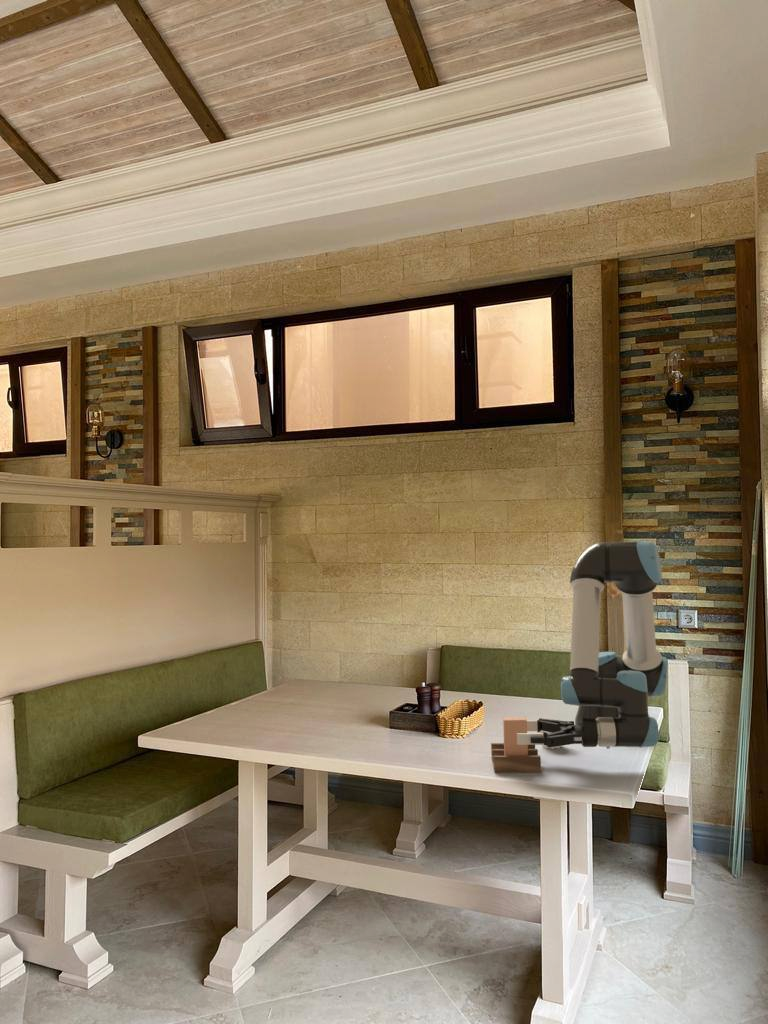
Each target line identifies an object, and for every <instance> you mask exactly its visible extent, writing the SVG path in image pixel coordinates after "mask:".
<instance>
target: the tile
mask: <svg viewBox="0 0 768 1024" xmlns="http://www.w3.org/2000/svg"><path fill="white" fill-rule="evenodd" d="M527 721H528V720H527V717H525V716H524V717H521V716H520V717H502V724H503V725H502V727H503V743H504V756H528V745H517V733H528V731H527Z"/></svg>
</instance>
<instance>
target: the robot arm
mask: <svg viewBox="0 0 768 1024" xmlns="http://www.w3.org/2000/svg"><path fill="white" fill-rule="evenodd" d="M662 579H663V571H662V565H661V557H660V552H659V549H658V547H657V545H656V544H655V543H654V542H653V541H641V540H638V541H620V542H619V541H615V542H614V541H613V542H611V541H610V542H606V541H602V542H597V543H594V544H592V545H590V546H589V547H587V548H586V549H585V550H584V551H582V553H581V554H580V555H579V556H578V557H577V559H576V561H575V563H574V565H573V567H572V569H571V573H570V578H569V588H570V589H571V590H572V591H573V594H572V611H571V612H572V616H571V639H570V661H569V663H570V664H569V665H570V666H569V675H567V676H563V677H562V678H561V682H560V695H561V696H560V697H561V700H562V703H564V704H565V705H568V706H569V705H571V706H578V709H577V712H576V715H575V719H574V721H573V720H571V721H570V720H560V719H558V720H557V719H551V718H549V719H548V718H542V717H541V718H540V717H539V718H538V719H537V720H527V733H517V745H535V746H536V745H537V746H542V745H543V743H544V745H546V746H547V747H549V748H550V747H556V746H561V747H562V746H569V745H580V744H581V745H582V746H583V748H596V747H597V746H598V747H600V748H601V747H603V748H604V747H605V748H606V749H607V750H610V748H612V747H617V748H619V747H625V748H626V747H627V748H644V747H645V748H646V747H647V748H648V747H655V746H657V745H658V743H659V738H660V731H659V723H658V722H657V720H656V719H657V718H655V717H653V716H650V715H649V698H648V697H650V698H651V697H660V696H661V697H662V696H663V695H664V694H665V692H666V686H667V675H668V674H667V673H668V660H667V658H664V657H662V654H661V652H660V651H659V650H658V649H657V643H656V629H655V628H656V627H655V615H654V614H655V613H654V599H653V596H654V595H653V591H654V590H655V589H656V588H657V586H658V583H661V582H662ZM605 583H615V587H616V589H617V591H619V592H620V593H621V599H622V612H623V622H624V632H625V633H624V634H625V635H624V636H625V644H626V645H625V646H626V650H624V652H623V653H622V656H621V657H620V656H618V655H617V653H616V651H615V652H614V651H600V627H601V626H600V625H601V624H600V623H601V622H600V621H601V615H600V614H601V593H602V591H604V589H605ZM541 730H542V731H547V732H552V733H549V734H547V732H543V733H540V732H541ZM530 732H533V733H530ZM536 732H537V733H536Z"/></svg>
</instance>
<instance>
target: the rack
mask: <svg viewBox="0 0 768 1024" xmlns="http://www.w3.org/2000/svg"><path fill="white" fill-rule="evenodd" d="M490 748H491V752H490V753H491V761H492V762H491V763H492V765H493V772H494V773H541V772H542V769H541V768H542V763H541V762H542V761H541V755H539V750H538V748H536V745H528V756H504V742H491V743H490Z"/></svg>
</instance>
